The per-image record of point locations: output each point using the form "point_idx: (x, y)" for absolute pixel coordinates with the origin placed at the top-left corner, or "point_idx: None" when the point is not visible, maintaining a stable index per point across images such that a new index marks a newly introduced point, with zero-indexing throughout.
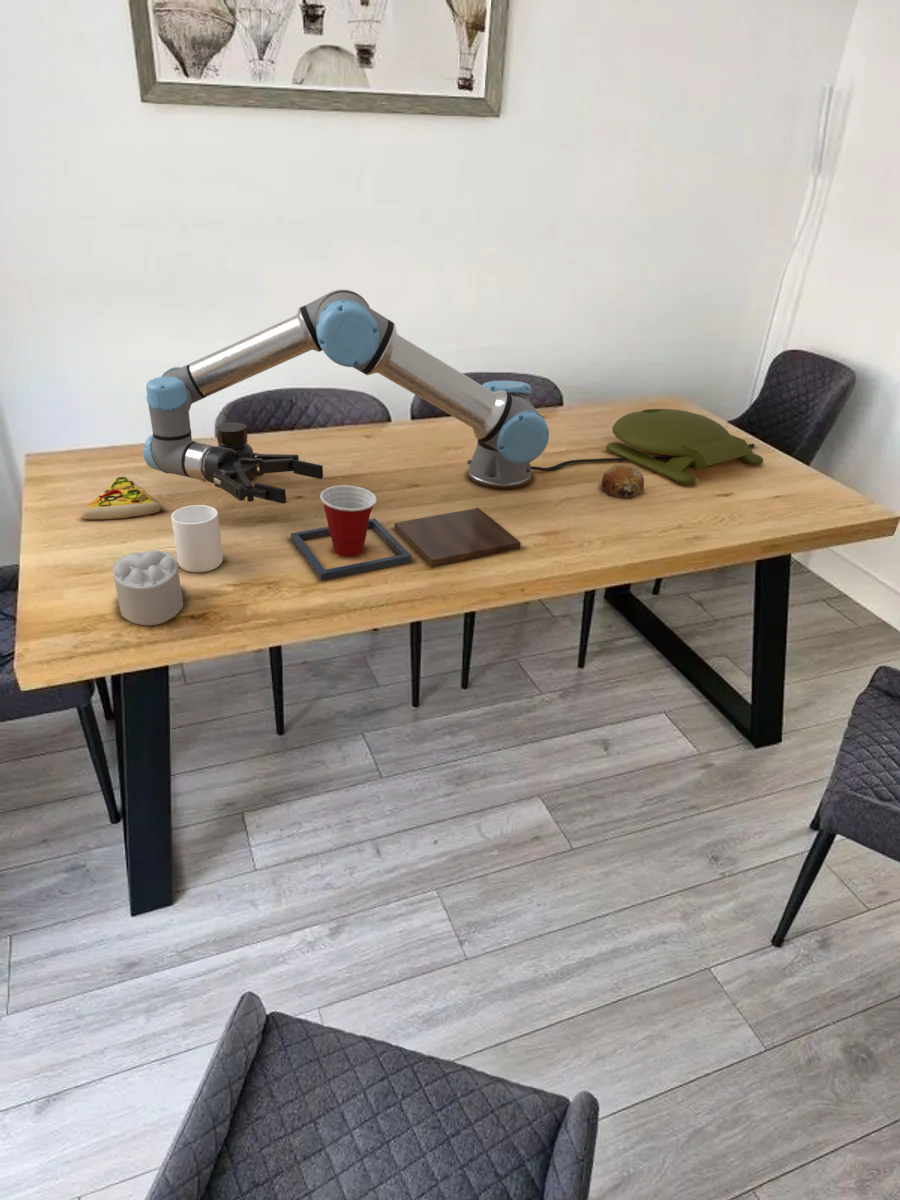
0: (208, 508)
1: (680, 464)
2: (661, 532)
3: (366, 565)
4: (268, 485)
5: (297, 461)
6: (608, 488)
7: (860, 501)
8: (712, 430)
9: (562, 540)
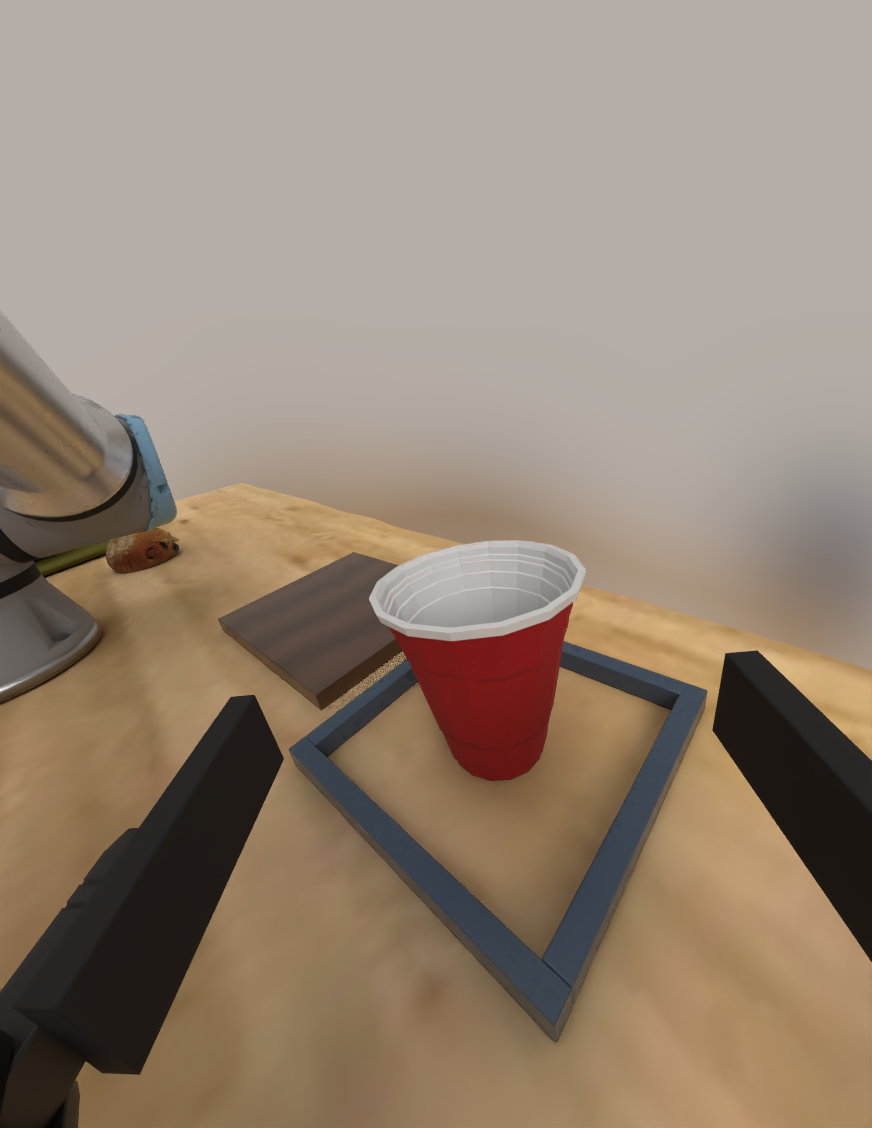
0: None
1: None
2: (281, 520)
3: (568, 644)
4: (852, 787)
5: (99, 926)
6: (160, 553)
7: (210, 491)
8: None
9: (318, 549)
